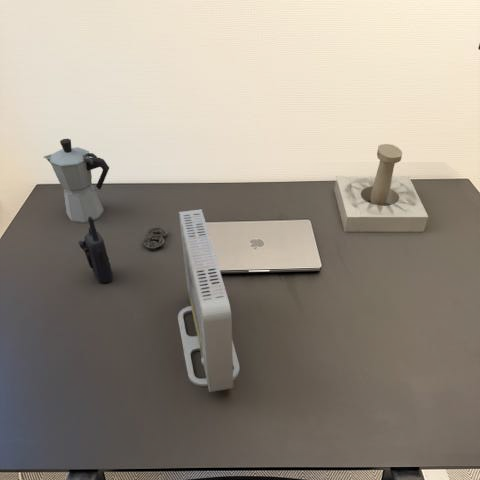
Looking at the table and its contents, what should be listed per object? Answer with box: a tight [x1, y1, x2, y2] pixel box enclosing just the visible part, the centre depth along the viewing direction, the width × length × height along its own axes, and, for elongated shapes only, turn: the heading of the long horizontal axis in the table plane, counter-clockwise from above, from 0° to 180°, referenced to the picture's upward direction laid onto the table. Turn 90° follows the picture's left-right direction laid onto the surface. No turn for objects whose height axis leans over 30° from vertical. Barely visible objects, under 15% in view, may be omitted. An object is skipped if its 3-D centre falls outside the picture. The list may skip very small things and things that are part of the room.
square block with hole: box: [333, 175, 429, 233], centre depth 112 cm, size 18×18×4 cm
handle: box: [369, 143, 403, 206], centre depth 108 cm, size 5×6×15 cm
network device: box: [177, 209, 240, 393], centre depth 76 cm, size 26×9×20 cm, turn 12°
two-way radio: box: [78, 216, 114, 284], centre depth 91 cm, size 6×4×15 cm
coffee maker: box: [43, 138, 110, 224], centre depth 106 cm, size 15×9×18 cm, turn 80°
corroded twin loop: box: [141, 226, 168, 251], centre depth 104 cm, size 5×8×1 cm, turn 175°
